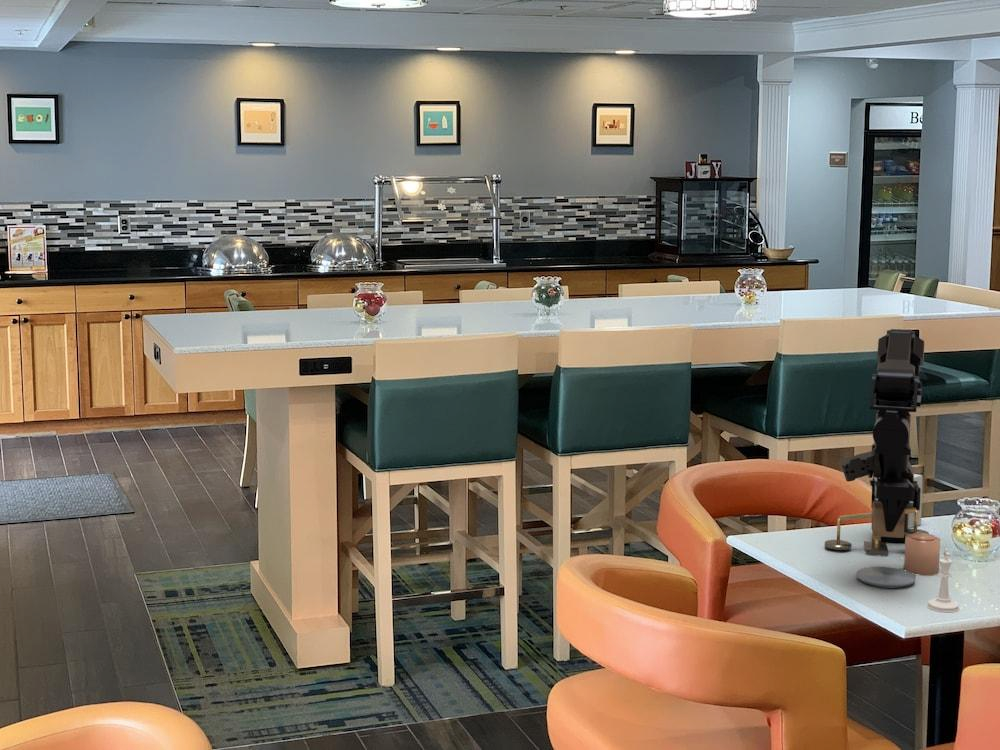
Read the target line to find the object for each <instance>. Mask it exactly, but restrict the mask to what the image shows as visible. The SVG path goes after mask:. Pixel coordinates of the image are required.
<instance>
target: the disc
mask: <svg viewBox="0 0 1000 750" xmlns="http://www.w3.org/2000/svg"><path fill="white" fill-rule="evenodd" d="M855 577H856V578H857V579H858V580H860V581H862V582H863V581H864V582H863V583H865V582H866V583H865V584H867V583H868V584H867V585H869V584H871V585H870V586H873V585H875V586H874V587H877V586H878V588H886V589H895V588H896V589H898V588H899V587H900V588H904V586H905V587H907V586H910V585H912V584H914V583H915V582H916V576H915V574H912V573H910V572H908V571H905V570H904V569H901V568H896V567H892V566H891V567H889V566H866V567H862V568H859V569H857V571H856V573H855Z"/></svg>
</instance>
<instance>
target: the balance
mask: <svg viewBox="0 0 1000 750" xmlns="http://www.w3.org/2000/svg"><path fill="white" fill-rule="evenodd" d="M909 513H915V514H914V527H913V528H908V529H904V537H906V536H907V535H910V534H913V533H928V534H930V533H929V531H927V530H923V529H919V528H918V526H917V520H918V510H916V508H915V507H914V508H905V514H909ZM838 516H839V517H838V518H837V522H836V523H837V524H836V525H837V526H836V539H828V540H826V541H824V547H825V548H827V549H830V550H834V551H846V550H847V551H848V550H851V549H852V547H853V546H852V545H853V544H852V543H851V542H849V541H847V540H843V539H842V540H841V527H842V526H841V523H842V522H846V521H854V520H863V519H865V520H866V519H872V511H871V512H864V513H854V514H853V513H852V514H843V515H838ZM871 534H872V535H871V541H868V540H867V541H866V540H864V541H863V549H864V552H866V553H865V555H866V554H868V555H867V556H877V555H885V556H884V557H888V556H889V549H888V546H887V543H886V541H881V537H878V536H874V535H873V532H872V531H871Z"/></svg>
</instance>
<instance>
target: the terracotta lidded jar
mask: <svg viewBox="0 0 1000 750" xmlns="http://www.w3.org/2000/svg"><path fill="white" fill-rule="evenodd" d="M940 552H941V538H940V537H937V536H935V535H934V534H931V533H929V534H928V533H913V534H910V535H907V536H906V538H905V542H904V558H903V561H904V562H903V570H906V571H908V572H910V573H914V574H913V575H916V574H919V575H918V576H935V575H938V573H939V570H940V569H939V568H940V563H939V560H940V555H941V553H940ZM934 574H935V575H934Z"/></svg>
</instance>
